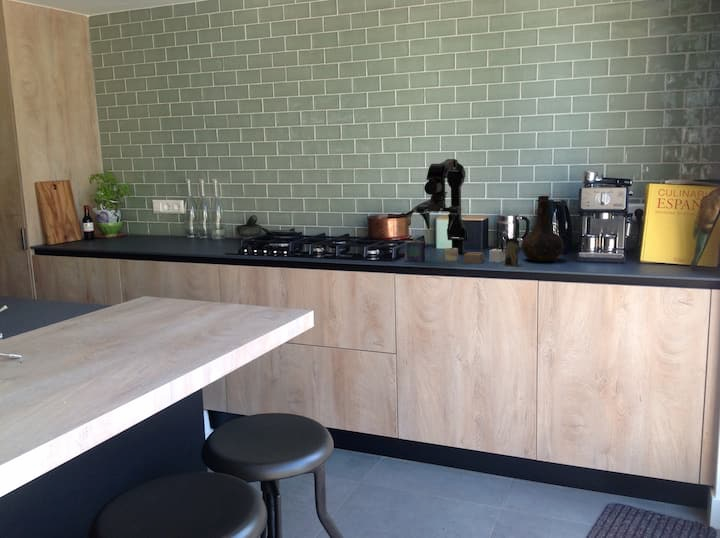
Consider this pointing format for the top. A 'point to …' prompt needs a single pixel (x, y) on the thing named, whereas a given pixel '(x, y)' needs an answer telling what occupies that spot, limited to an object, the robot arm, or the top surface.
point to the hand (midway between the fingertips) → (438, 229)
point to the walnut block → (473, 257)
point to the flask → (414, 251)
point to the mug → (510, 251)
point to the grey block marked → (496, 255)
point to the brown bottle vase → (542, 237)
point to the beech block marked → (451, 254)
